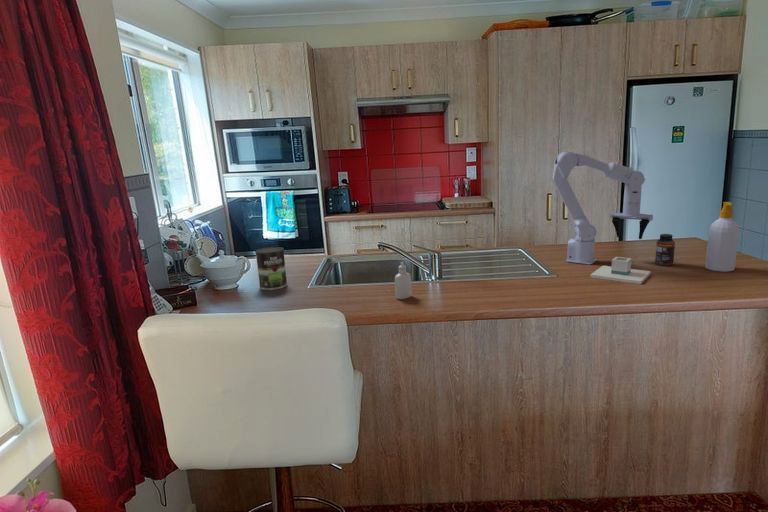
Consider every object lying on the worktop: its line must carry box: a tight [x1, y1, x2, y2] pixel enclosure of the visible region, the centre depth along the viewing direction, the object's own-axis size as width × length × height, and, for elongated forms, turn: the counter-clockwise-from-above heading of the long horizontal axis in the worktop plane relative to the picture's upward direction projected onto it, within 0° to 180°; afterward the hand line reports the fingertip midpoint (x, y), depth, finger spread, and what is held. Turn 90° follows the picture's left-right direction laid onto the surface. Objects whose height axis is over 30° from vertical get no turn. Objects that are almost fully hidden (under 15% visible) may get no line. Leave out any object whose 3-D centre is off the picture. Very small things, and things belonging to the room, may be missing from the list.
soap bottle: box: [704, 201, 740, 273], centre depth 163 cm, size 9×9×24 cm
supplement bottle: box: [654, 233, 676, 267], centre depth 174 cm, size 6×6×11 cm
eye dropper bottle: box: [394, 261, 412, 300], centre depth 153 cm, size 4×6×12 cm
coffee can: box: [255, 246, 288, 291], centre depth 174 cm, size 10×10×14 cm
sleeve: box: [611, 256, 632, 276], centre depth 164 cm, size 5×5×5 cm
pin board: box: [590, 265, 652, 285], centre depth 164 cm, size 16×14×4 cm
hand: (629, 237), depth 179 cm, fingers open, 7 cm apart
